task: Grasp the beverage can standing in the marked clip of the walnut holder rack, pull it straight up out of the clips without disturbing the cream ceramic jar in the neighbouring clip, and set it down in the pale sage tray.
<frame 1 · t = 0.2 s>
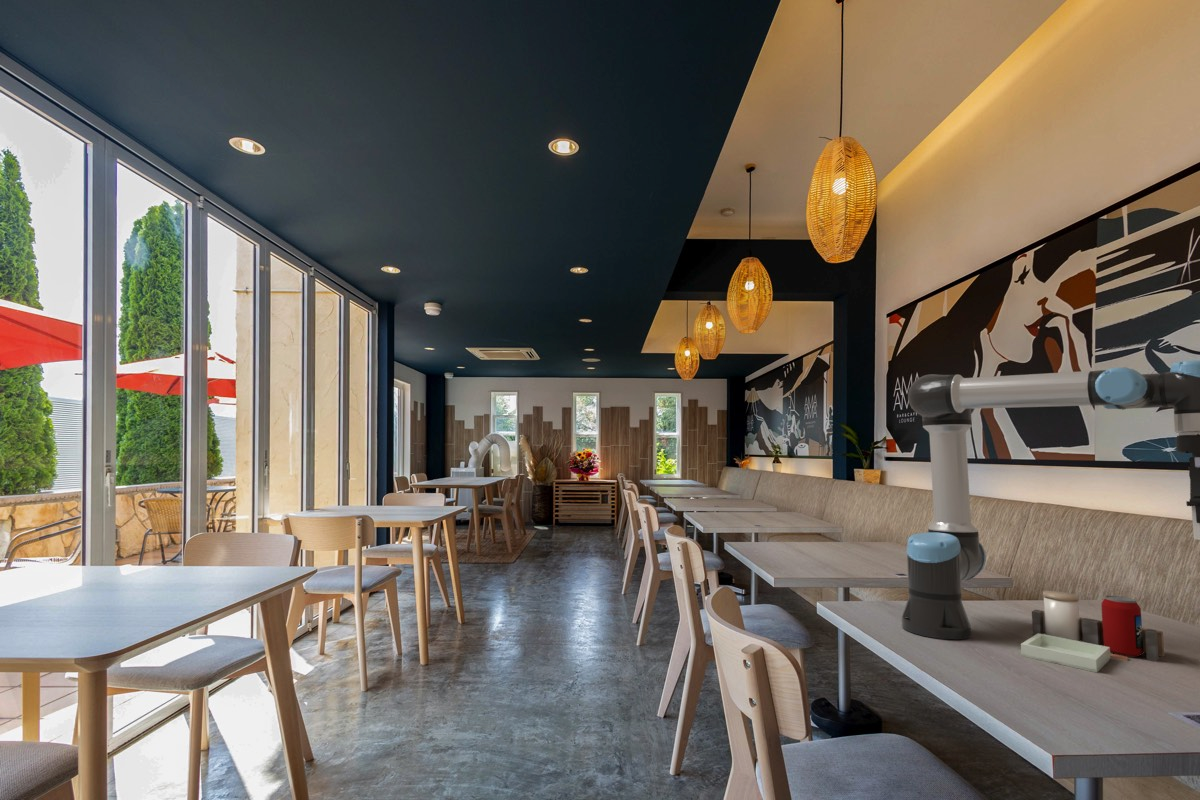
beverage can: (1123, 654, 136), on the table
ceramic jar: (1062, 641, 144), on the table
holder rack: (1092, 647, 140), on the table
tray: (1065, 657, 132), on the table
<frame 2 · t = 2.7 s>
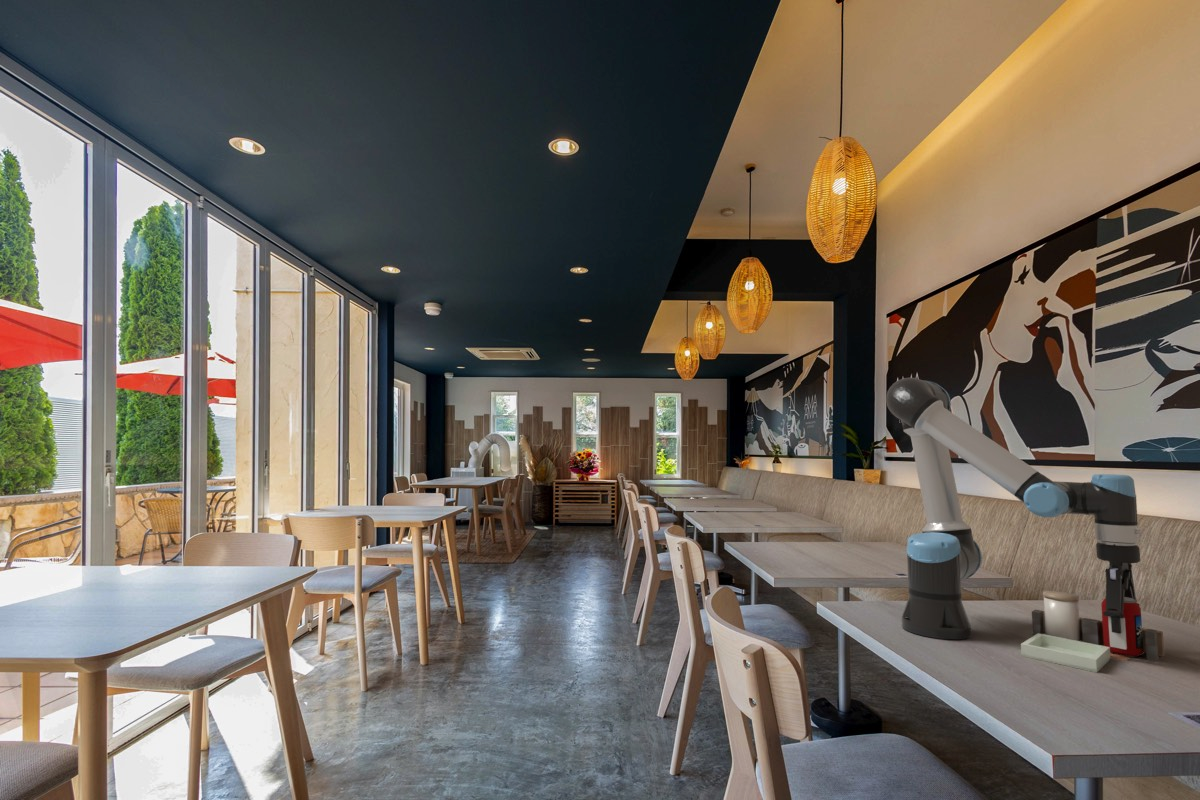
hand: (1123, 642, 136), 2 cm above the table, fingers open, 11 cm apart
nothing on the table moved.
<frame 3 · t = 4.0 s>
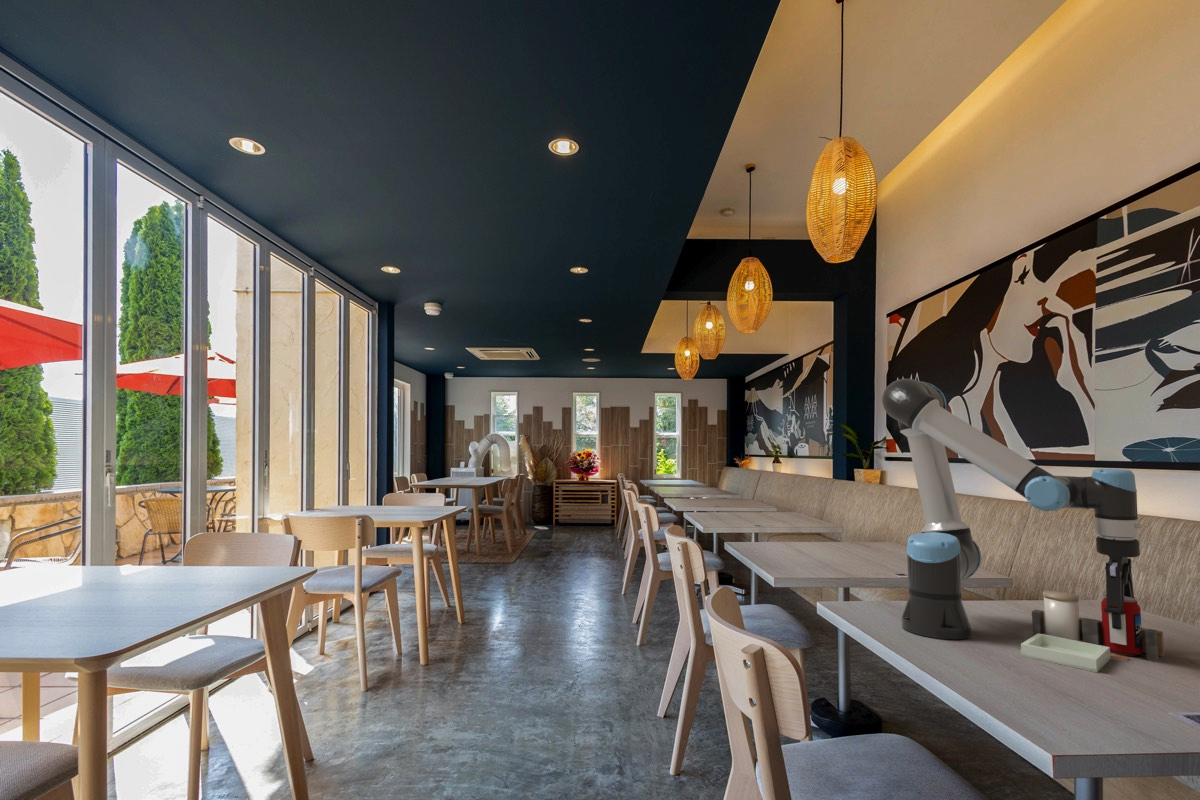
hand: (1122, 638, 138), 3 cm above the table, fingers open, 9 cm apart
beverage can: (1123, 653, 137), on the table, touching holder rack
everything else where it was.
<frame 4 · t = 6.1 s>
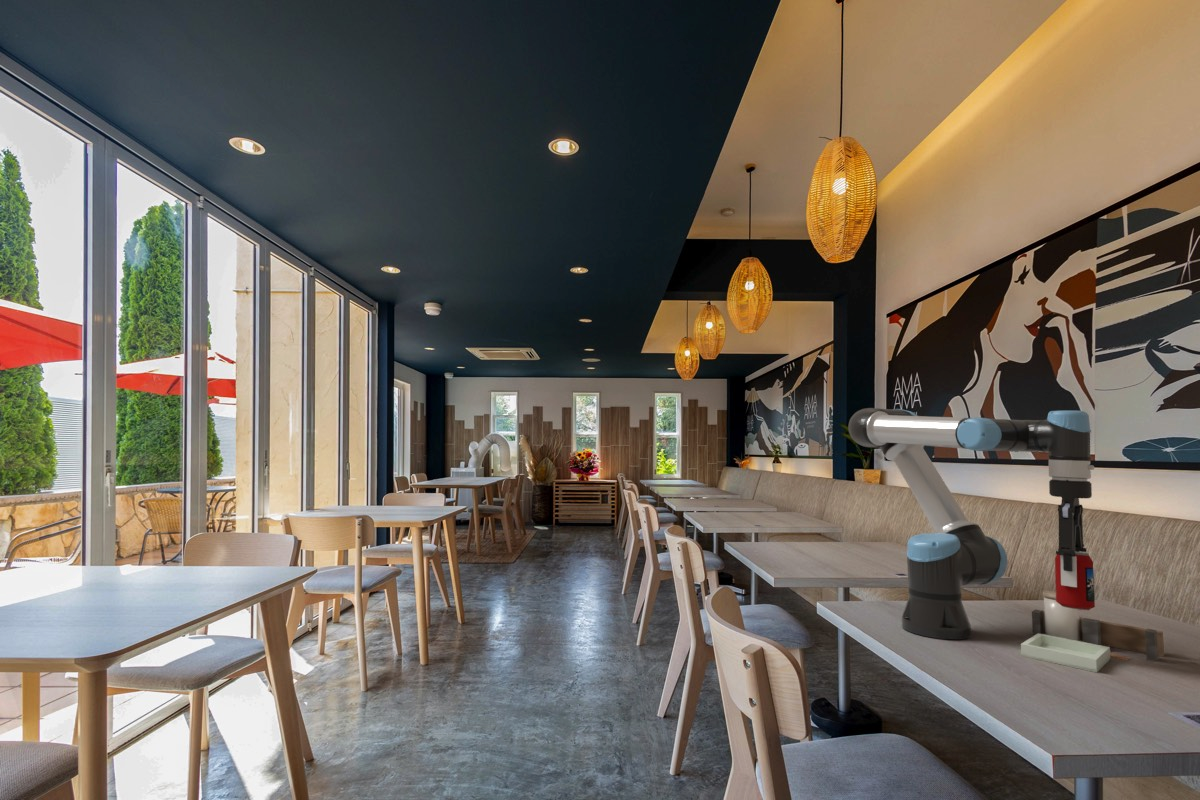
hand: (1072, 583, 135), 15 cm above the table, fingers closed on beverage can, 7 cm apart
beverage can: (1075, 608, 134), point 10 cm above the table, touching gripper
everything else where it was.
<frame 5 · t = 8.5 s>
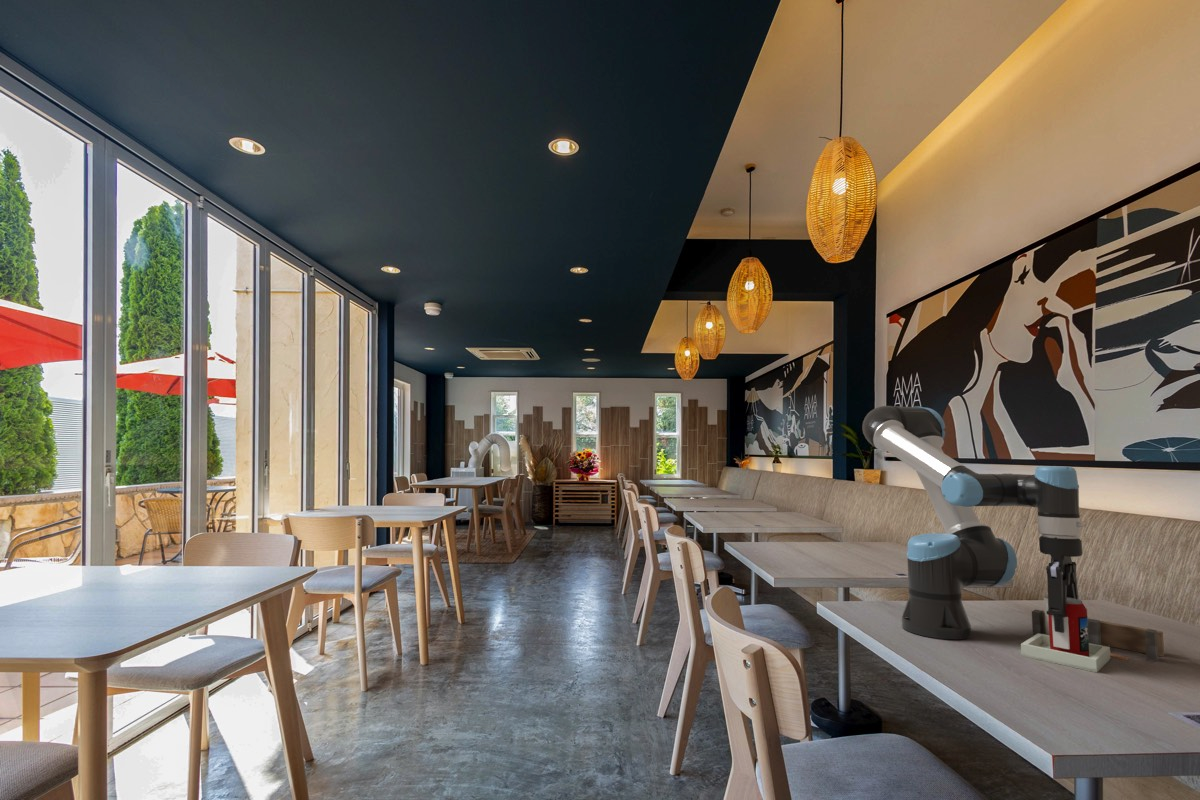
hand: (1066, 644, 132), 3 cm above the table, fingers closed on beverage can, 7 cm apart
beverage can: (1069, 657, 132), resting on tray, touching gripper
everything else where it was.
when the fingers open (3 cm above the table, at t = 8.9 s): beverage can stays where it is, resting on tray.
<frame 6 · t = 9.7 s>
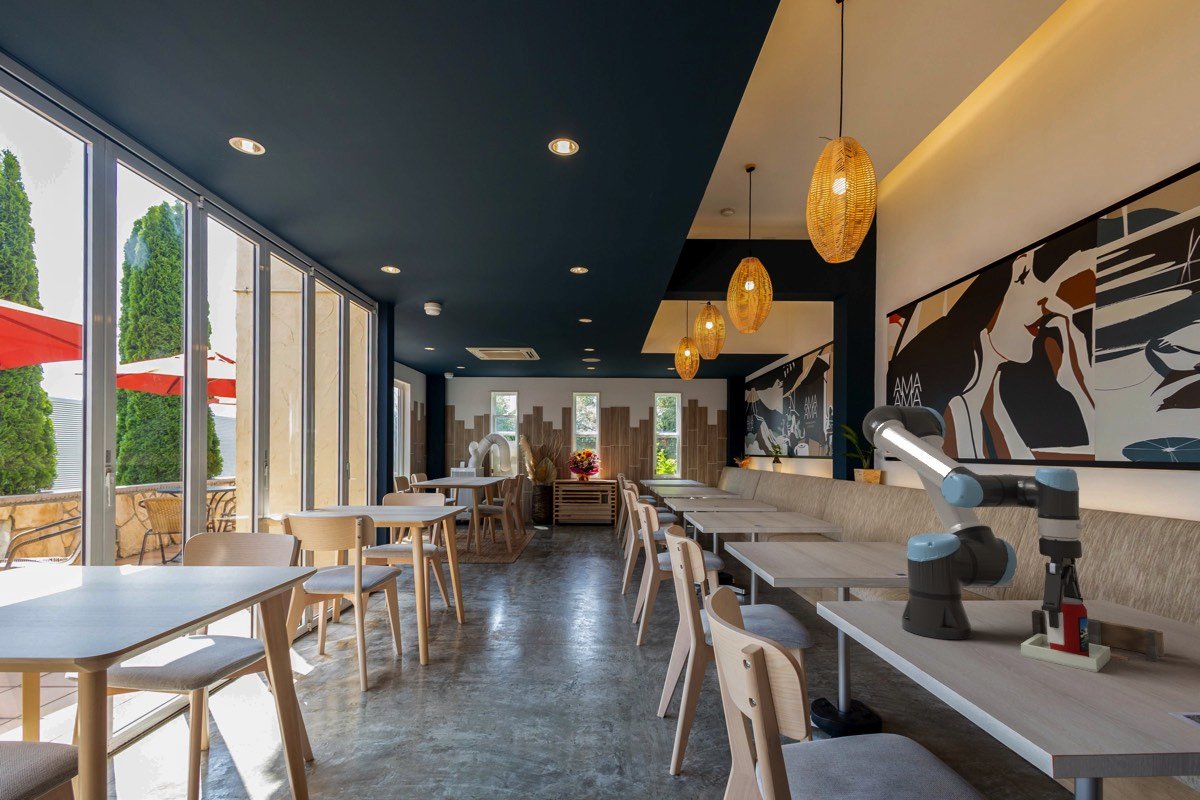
hand: (1064, 637, 133), 4 cm above the table, fingers open, 13 cm apart
beverage can: (1069, 657, 132), resting on tray
everything else where it was.
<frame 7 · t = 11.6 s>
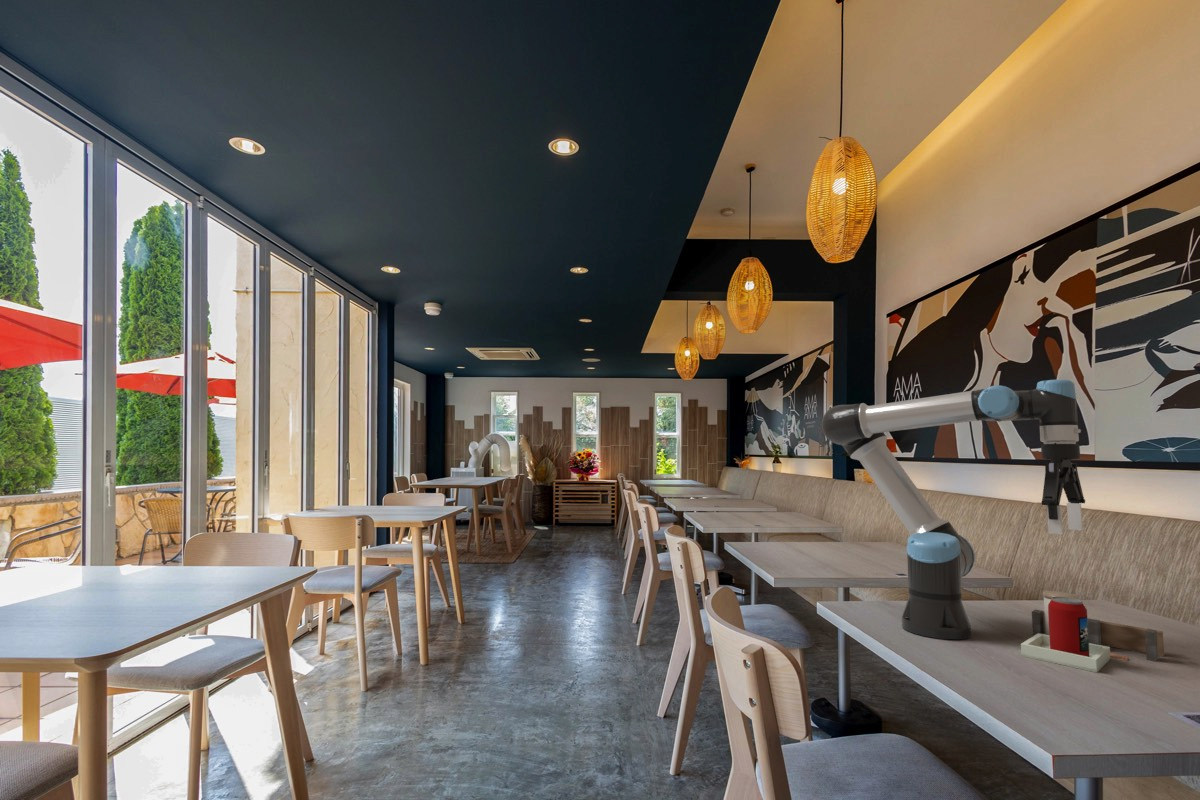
hand: (1066, 532, 147), 25 cm above the table, fingers open, 13 cm apart
nothing on the table moved.
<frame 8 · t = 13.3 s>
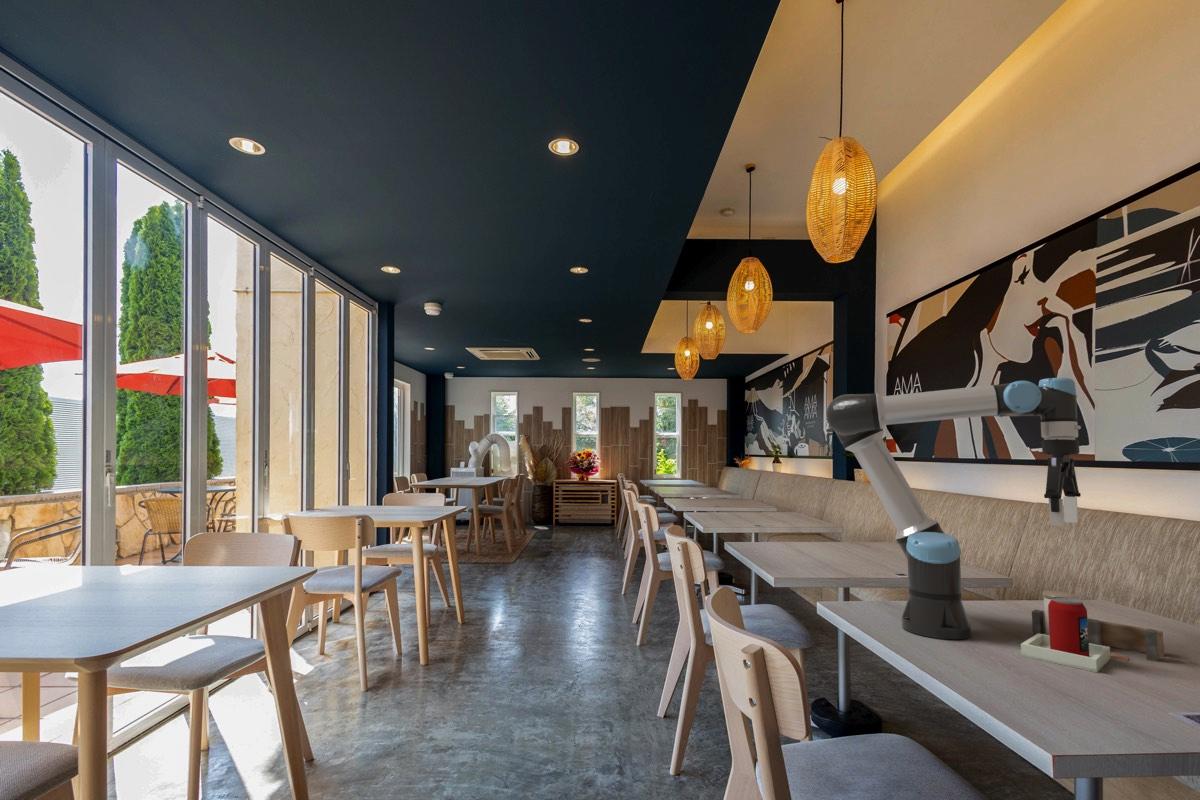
hand: (1064, 524, 153), 27 cm above the table, fingers open, 13 cm apart
nothing on the table moved.
at the end: beverage can inside the target area on the tray (0.9 cm from its centre), point 0.3 cm above the tray's base; beverage can tilted 0°; ceramic jar moved 0.0 cm from its start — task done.
